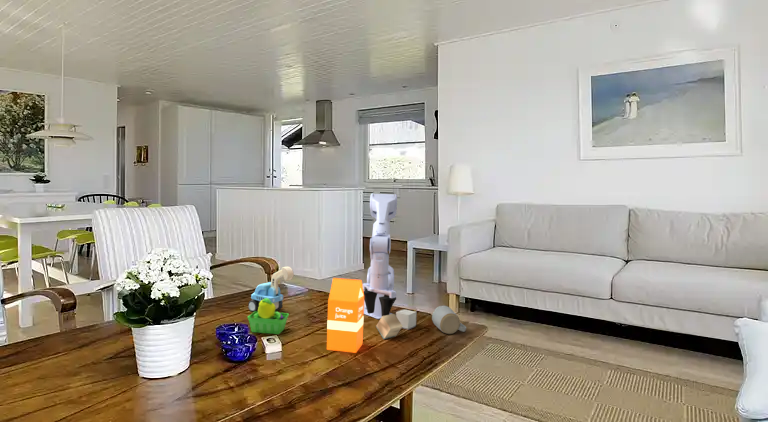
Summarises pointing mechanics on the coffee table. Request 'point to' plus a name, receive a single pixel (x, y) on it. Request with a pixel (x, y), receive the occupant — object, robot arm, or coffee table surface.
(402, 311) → the grey cube
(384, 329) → the maple cube
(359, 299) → the orange juice
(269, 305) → the fruit basket
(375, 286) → the robot arm
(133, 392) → the coffee table surface
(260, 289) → the toy excavator
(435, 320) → the ceramic mug
